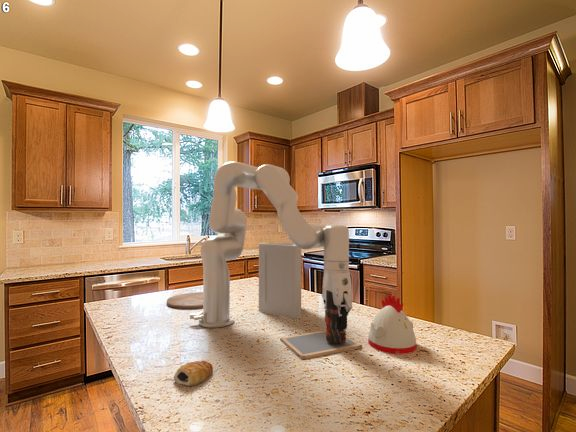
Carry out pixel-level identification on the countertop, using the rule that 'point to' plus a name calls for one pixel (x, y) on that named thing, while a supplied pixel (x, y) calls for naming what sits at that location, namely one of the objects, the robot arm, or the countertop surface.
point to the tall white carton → (280, 279)
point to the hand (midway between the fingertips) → (335, 324)
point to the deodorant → (333, 321)
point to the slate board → (316, 345)
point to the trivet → (186, 301)
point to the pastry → (193, 373)
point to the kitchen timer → (392, 329)
